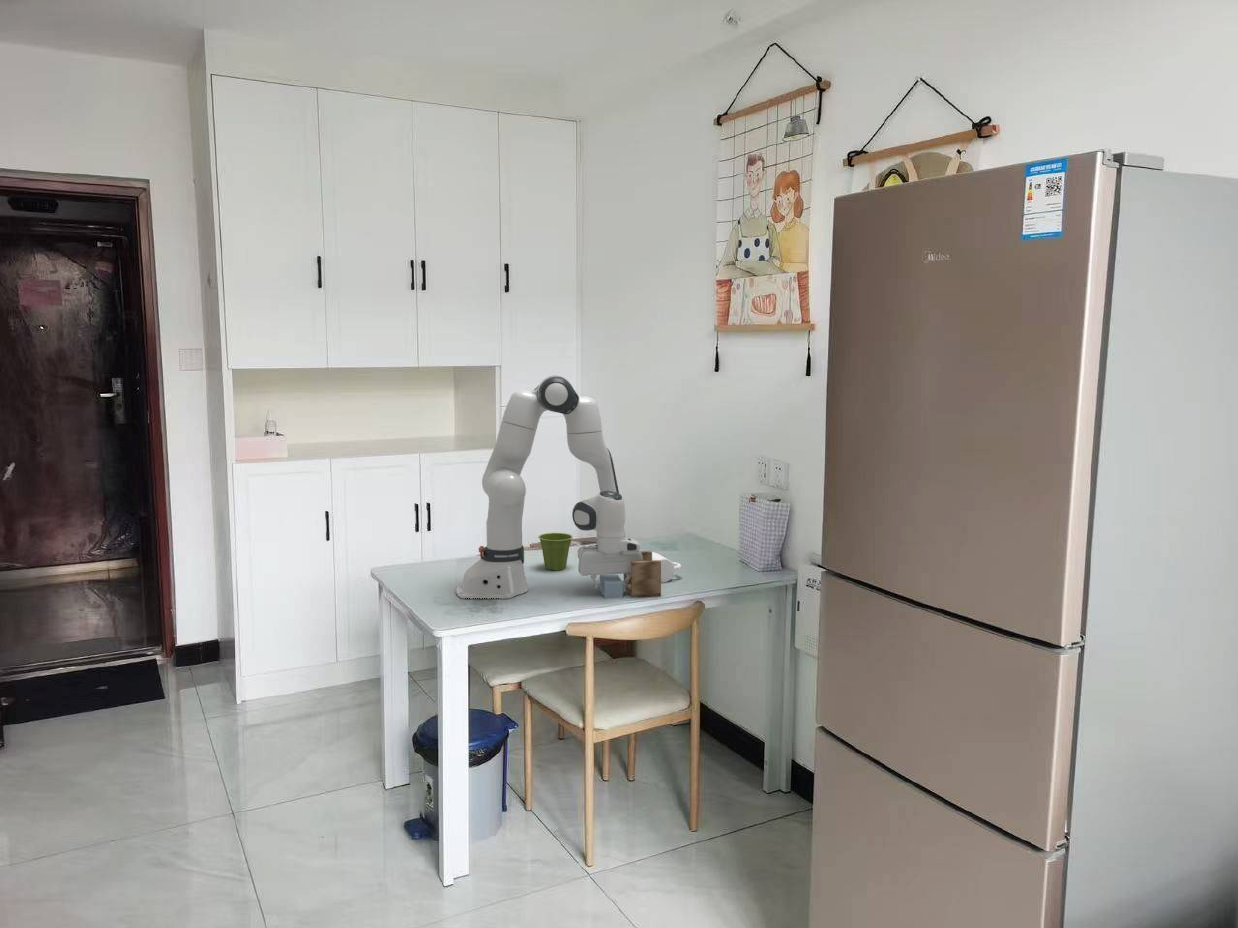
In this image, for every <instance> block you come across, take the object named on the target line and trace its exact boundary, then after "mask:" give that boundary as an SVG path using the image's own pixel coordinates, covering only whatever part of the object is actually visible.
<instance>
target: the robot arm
mask: <svg viewBox="0 0 1238 928" xmlns="http://www.w3.org/2000/svg"><path fill="white" fill-rule="evenodd" d="M547 411H549V412H553V413H558V414H562V416H563V417H564V420H565V424H566V427H565V428H566V441H567V447H568V450H569V452H570V454H571V455H572V456H574V457H575V458H576V459H578V461H581V462H584V463H587V464H589V465H590V466H591V467H593V468H594V469H595V472H596V476H597V481H598V487H599V493H597V495H595V496H593V497H591V498H587V499H584V500H581V501H579V502H576V503H575V505H574V507H573V509H572V513H571V514H572V515H571V516H572V521H573V524H574V525H575V527H576V528H578V529H579V530H580V531H585V532H586V531H587V532H588V531H593V530H594V531H595V532H596V544H591V545H586V544H584V545H582V546H581V547H579V548H578V549H577V557H578V569H577V570H578V573H579V574H580V575H581V576H590V578H591V579H592V581H593V583H594V589H595V590H597V589H598V590H600V581H596V579H597V576H600V575H612V574H617V575H619V574H620V575H621V574H623V575H624V574H625V573H626V576H627V577H626V579H625V580H624V579H623V580H622V582H623V588H625V587H628V581H629V580H630V578H631V562H633V561H643V556H642V553H641V552H640V551H641V550H640V549H641V545H640V543H639V541H637V540H636V539H633V538H630V537H626V532H625V524H626V506H625V501H624V497H623V496H622V494H620V491H619V487H618V480H617V476H616V470H615V465H614V460H613V457H612V453H611V451H610V450H609V448H608V447H607V446H606V443H605V440H604V436H603V427H602V419H601V414H600V409H599V406H598V402H597V401H596V400H595V399H594V398H592V397H590V396H584V395H581V396H580V395H578V393H577V391H576V390H575V389H574V387H573V386H572V384H571V382H570V381H569V380H568V379H567V378H565V377H563V376H560V375H550V376H547V377H545V378H544V379H543V380H542V381H541V382H539V384H538V386H536V387H535V388H534V389H533V390H528V389H518V390H516V391H514V392H513V393H512V394H511V395H510V398H509V400H508V402H507V404H506V406H505V410H504V412H503V415H502V419H501V422H500V426H499V429H498V434H497V438H496V442H495V445H494V448H493V450H492V453H491V456H490V458H489V460H488V462H487V465H486V468H485V471H484V473H483V475H482V479H481V485H482V490H483V492H484V493H485V494H486V495H487V497H488V511H487V519H486V522H485V523H486V546H484V545H480V546H479V547H478V552H479V553H480V559H478V560H477V561H476V562H475V563H474V564H473V565H472V566H470V567H469V568H468V569H467V570H466V571H465V573H464V575H463V578H462V584H459V585H458V586H456V590H455V594H457V595H456V596H457V597H458V598H460V599H463V600H464V599H465V598H466V599H467V598H468V599H469V598H470V599H473V598H474V599H473V600H475V598H476V600H478V599H479V598H480V599H482V598H483V599H484V598H485V599H486V598H487V600H488V599H491V598H492V599H493V598H494V599H496V598H497V599H498V598H499V599H503V600H504V599H505V600H506V599H511V598H514V597H515V596H519V595H522V594H525V593H527V592H528V591H529V587H528V583H527V580H526V576H525V575H526V574H525V567H524V563H525V549H524V545H523V515H524V508H525V507H524V506H525V497H526V493H527V491H526V490H527V488H526V484H525V481H524V479H523V478H522V476H521V474H522V470H523V469H524V466H525V465H526V462H527V460H528V458H529V456H530V454H531V452H532V449H533V444H534V441H535V436H536V433H537V429H538V425H539V423H540V419H541V416H542V415H543V414H544V412H547ZM477 598H478V599H477ZM466 599H465V600H466ZM468 599H467V600H468ZM470 599H469V600H470ZM497 599H496V600H497ZM499 599H498V600H499Z"/></svg>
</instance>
